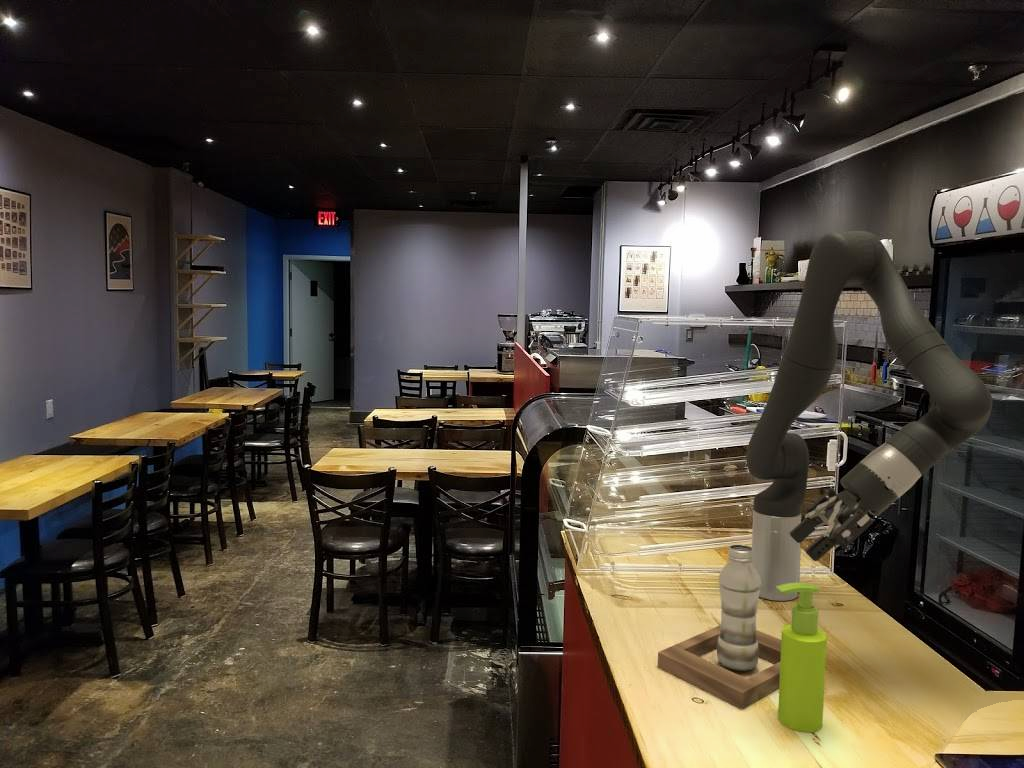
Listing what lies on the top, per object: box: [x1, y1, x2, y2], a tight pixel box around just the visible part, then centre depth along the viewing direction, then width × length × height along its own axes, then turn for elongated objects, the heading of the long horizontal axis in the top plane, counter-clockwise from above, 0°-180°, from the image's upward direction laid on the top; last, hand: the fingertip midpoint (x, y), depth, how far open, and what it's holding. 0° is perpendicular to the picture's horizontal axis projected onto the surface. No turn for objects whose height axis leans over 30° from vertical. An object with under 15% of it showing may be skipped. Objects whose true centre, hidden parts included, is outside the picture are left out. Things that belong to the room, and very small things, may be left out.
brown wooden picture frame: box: [657, 624, 781, 710], centre depth 118 cm, size 20×16×2 cm
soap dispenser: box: [776, 582, 828, 733], centre depth 102 cm, size 6×7×20 cm
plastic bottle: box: [716, 543, 761, 672], centre depth 118 cm, size 6×7×20 cm
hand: (801, 547), depth 116 cm, fingers open, 8 cm apart
